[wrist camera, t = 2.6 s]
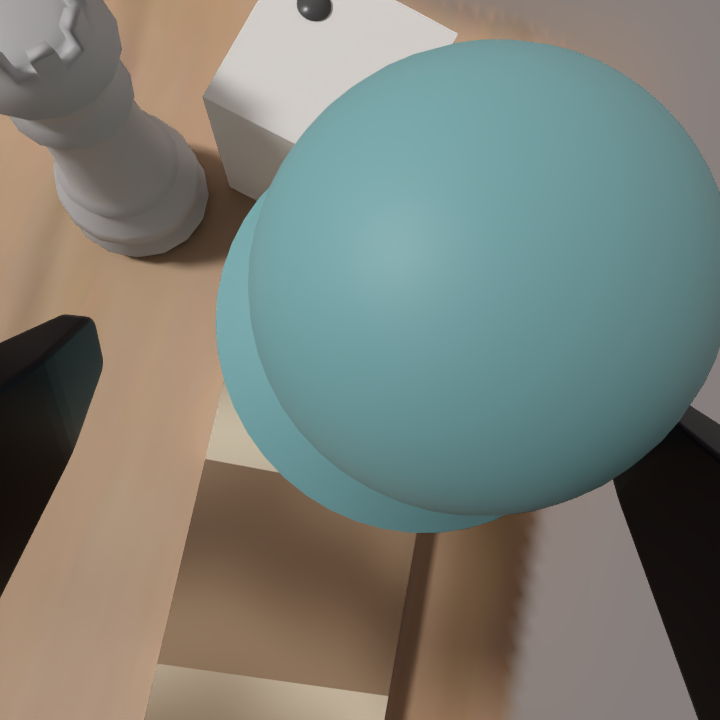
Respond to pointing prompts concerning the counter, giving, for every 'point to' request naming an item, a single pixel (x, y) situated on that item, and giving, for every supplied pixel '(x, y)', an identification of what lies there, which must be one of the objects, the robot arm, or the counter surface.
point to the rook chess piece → (97, 127)
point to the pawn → (473, 288)
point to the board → (277, 599)
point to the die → (301, 74)
